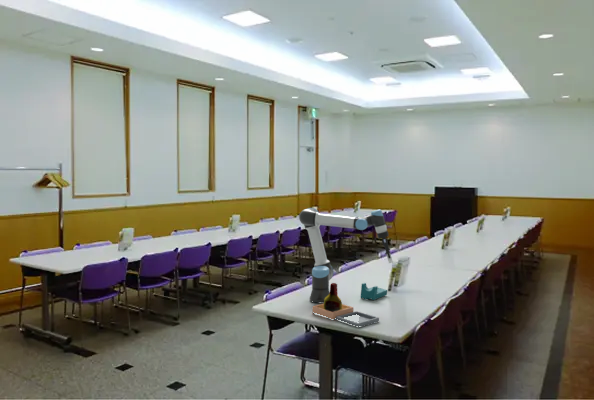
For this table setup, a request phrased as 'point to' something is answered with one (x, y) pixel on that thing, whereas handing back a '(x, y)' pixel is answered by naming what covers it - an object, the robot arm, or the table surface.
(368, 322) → the tray
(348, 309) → the holder
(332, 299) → the bottle
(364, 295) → the teal l-shaped bracket
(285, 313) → the table surface
